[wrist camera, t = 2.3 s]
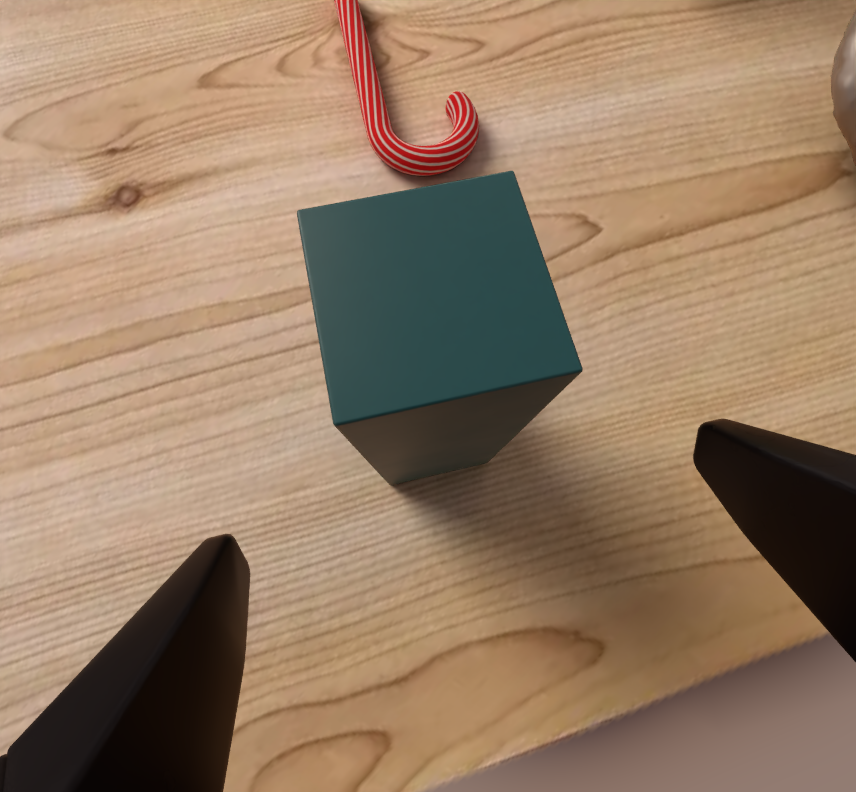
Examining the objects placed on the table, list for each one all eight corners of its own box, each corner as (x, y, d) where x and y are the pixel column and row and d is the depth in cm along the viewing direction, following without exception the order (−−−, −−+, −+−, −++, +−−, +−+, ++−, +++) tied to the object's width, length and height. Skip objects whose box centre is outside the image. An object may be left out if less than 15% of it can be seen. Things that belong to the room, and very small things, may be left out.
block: (488, 462, 19) (585, 370, 8) (389, 485, 19) (333, 426, 7) (463, 370, 20) (513, 168, 9) (370, 390, 20) (295, 209, 8)
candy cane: (424, -16, 28) (424, -45, 26) (490, 170, 23) (494, 147, 22) (330, -1, 27) (325, -30, 26) (380, 191, 23) (377, 169, 22)
